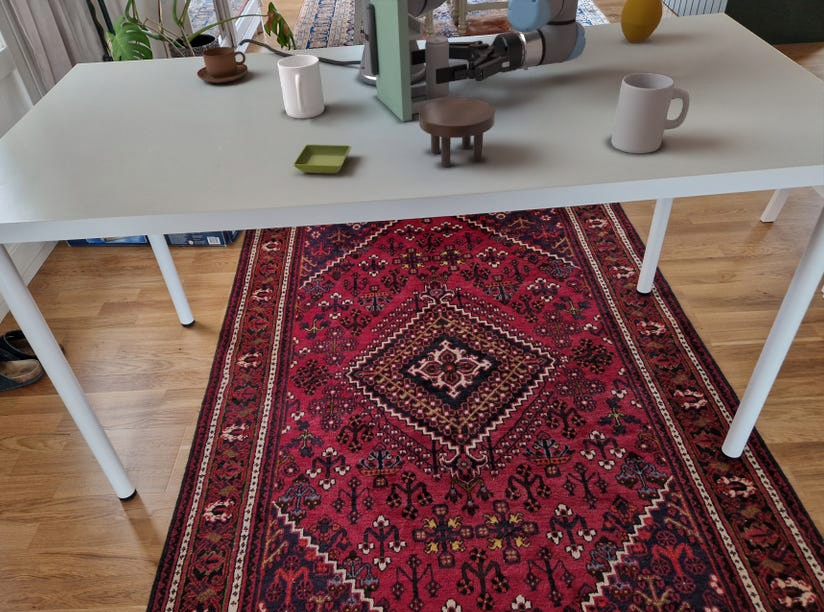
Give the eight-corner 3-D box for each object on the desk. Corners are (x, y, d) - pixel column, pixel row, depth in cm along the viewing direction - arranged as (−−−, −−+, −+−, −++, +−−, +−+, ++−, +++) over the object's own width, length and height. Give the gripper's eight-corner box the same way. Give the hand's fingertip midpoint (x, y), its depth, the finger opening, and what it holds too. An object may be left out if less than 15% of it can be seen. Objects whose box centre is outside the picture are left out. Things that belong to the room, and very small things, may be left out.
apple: (646, 49, 155) (656, -6, 148) (609, 43, 160) (617, -10, 153) (663, 39, 161) (674, -14, 153) (627, 33, 166) (635, -18, 158)
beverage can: (449, 95, 138) (449, 35, 130) (448, 103, 135) (448, 42, 127) (427, 96, 139) (425, 36, 131) (425, 104, 135) (424, 43, 127)
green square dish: (353, 156, 117) (352, 145, 116) (342, 177, 111) (340, 165, 110) (307, 155, 119) (305, 144, 117) (294, 175, 112) (292, 164, 111)
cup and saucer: (229, 67, 161) (223, 41, 157) (259, 75, 155) (254, 48, 151) (189, 81, 155) (182, 53, 151) (219, 90, 149) (212, 62, 144)
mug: (616, 154, 112) (627, 90, 105) (606, 135, 119) (617, 73, 111) (686, 152, 111) (703, 87, 104) (673, 133, 118) (687, 70, 111)
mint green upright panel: (436, 86, 143) (434, -27, 129) (466, 109, 132) (468, -12, 117) (370, 98, 140) (361, -17, 125) (395, 123, 128) (389, 0, 114)
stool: (407, 164, 114) (405, 119, 108) (440, 137, 122) (440, 94, 117) (474, 177, 108) (475, 130, 103) (503, 148, 117) (506, 103, 111)
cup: (325, 103, 139) (318, 53, 132) (324, 124, 130) (317, 71, 123) (287, 106, 138) (278, 56, 132) (283, 127, 129) (274, 75, 123)
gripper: (543, 86, 130) (448, 105, 125) (488, 54, 148) (402, 69, 143) (547, 47, 125) (448, 64, 120) (489, 18, 143) (401, 32, 138)
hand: (423, 67), depth 131 cm, fingers open, 13 cm apart
